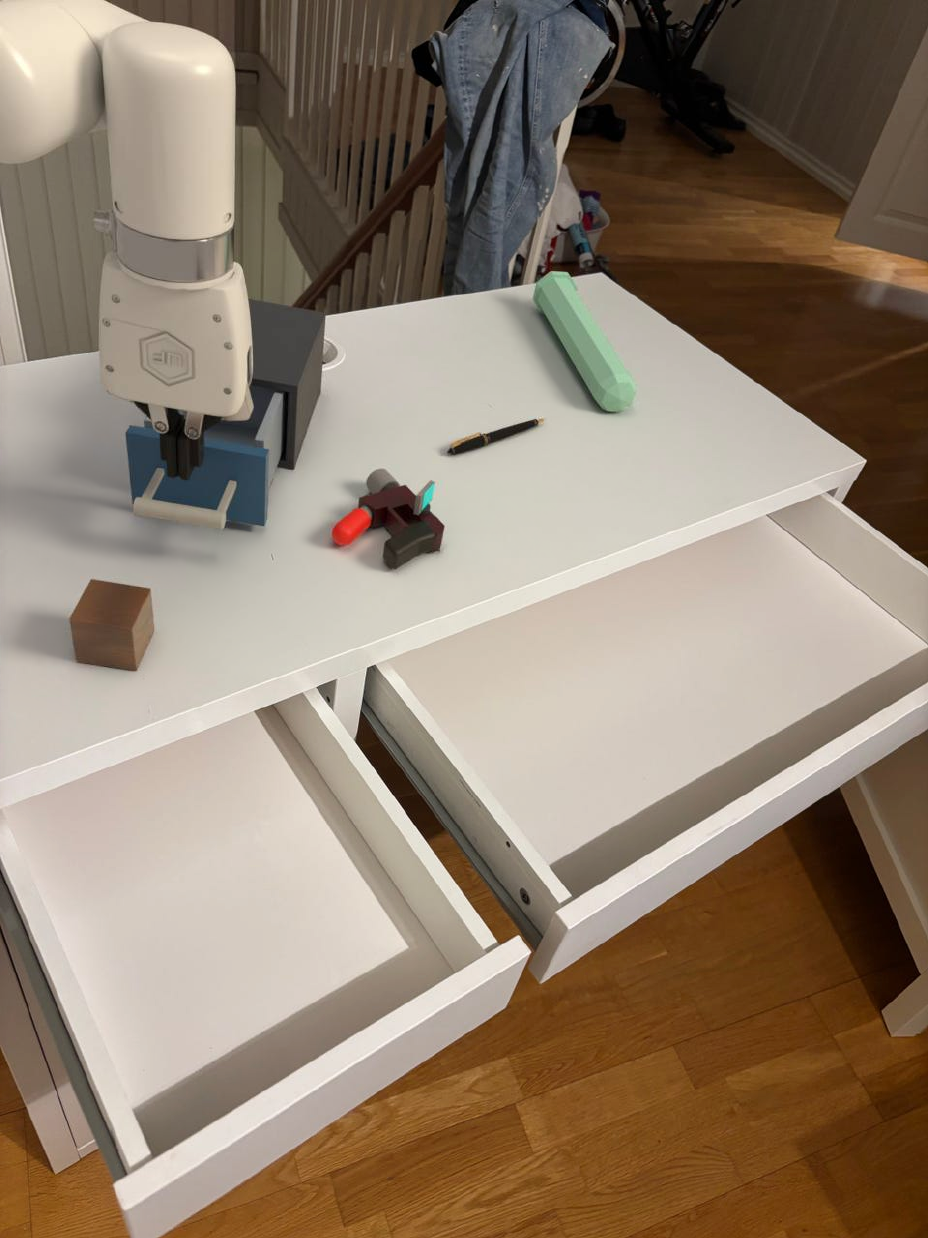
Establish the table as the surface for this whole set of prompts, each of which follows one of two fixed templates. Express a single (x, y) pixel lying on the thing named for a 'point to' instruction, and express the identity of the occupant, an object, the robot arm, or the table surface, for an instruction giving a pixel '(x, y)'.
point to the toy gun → (394, 519)
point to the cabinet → (289, 364)
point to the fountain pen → (490, 437)
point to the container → (584, 341)
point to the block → (112, 624)
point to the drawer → (213, 468)
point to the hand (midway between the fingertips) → (183, 468)
